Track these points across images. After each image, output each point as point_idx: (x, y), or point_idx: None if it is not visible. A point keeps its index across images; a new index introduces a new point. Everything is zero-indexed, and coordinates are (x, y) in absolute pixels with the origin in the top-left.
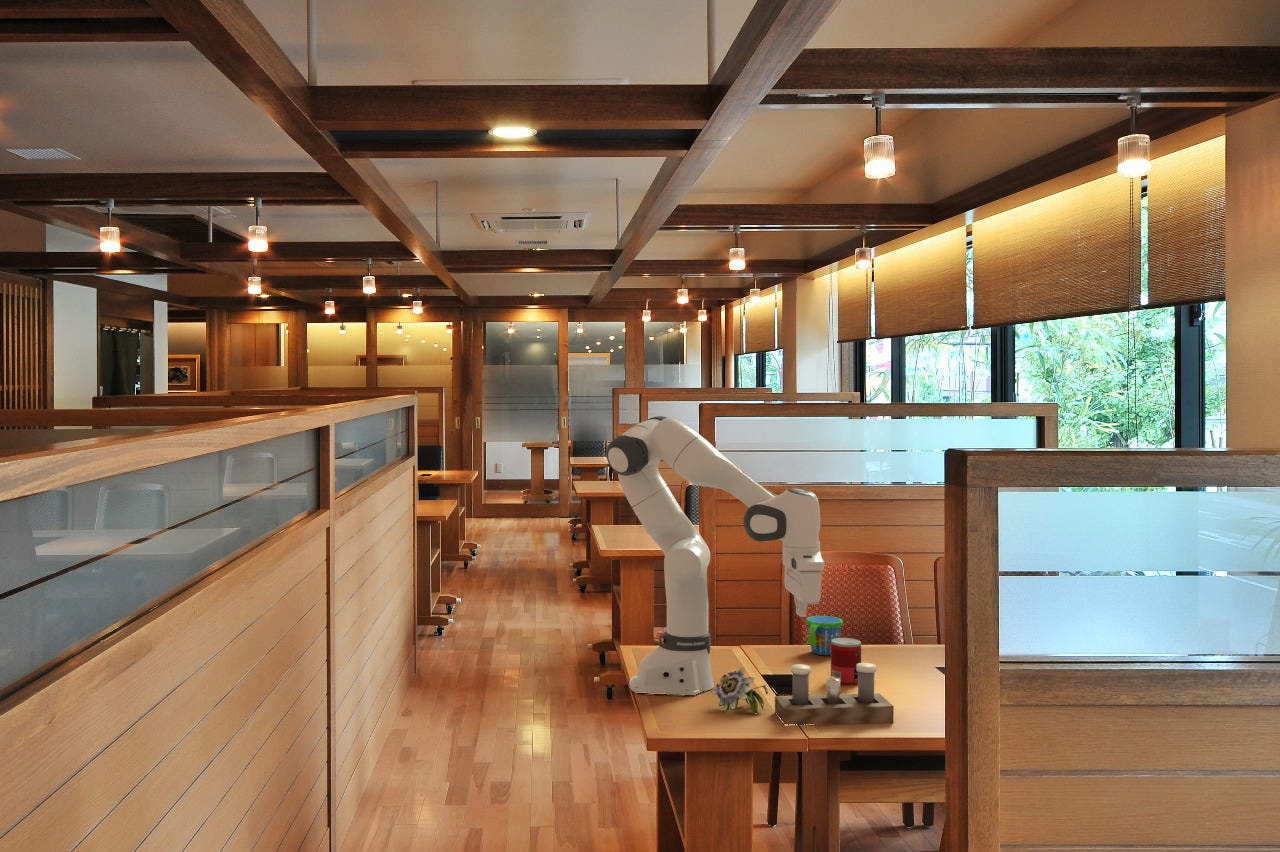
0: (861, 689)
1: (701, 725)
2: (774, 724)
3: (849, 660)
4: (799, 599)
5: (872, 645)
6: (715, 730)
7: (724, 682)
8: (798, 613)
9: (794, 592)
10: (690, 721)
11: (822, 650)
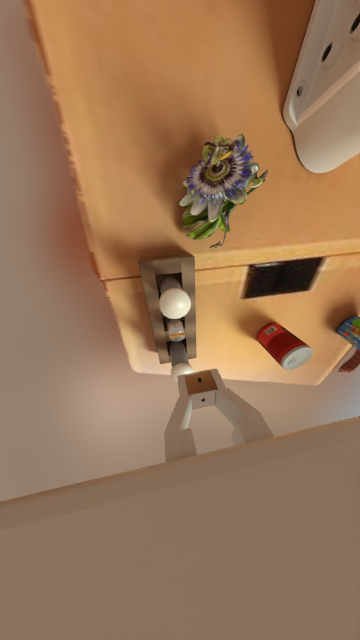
0: (173, 352)
1: (125, 96)
2: (145, 246)
3: (271, 349)
4: (96, 484)
5: (340, 357)
6: (103, 129)
7: (212, 148)
8: (185, 380)
9: (215, 487)
10: (146, 66)
11: (346, 326)
